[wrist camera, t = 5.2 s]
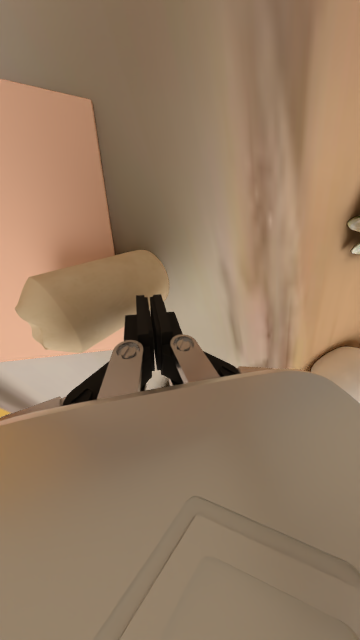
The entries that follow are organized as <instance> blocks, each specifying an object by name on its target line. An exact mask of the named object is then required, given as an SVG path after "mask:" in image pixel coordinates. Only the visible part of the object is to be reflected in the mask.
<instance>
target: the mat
mask: <svg viewBox="0 0 360 640" xmlns="http://www.w3.org/2000/svg"><path fill="white" fill-rule="evenodd" d="M114 255H115V251H114V244H113V237H112V231H111V224H110V217H109V210H108V204H107V197H106V190H105V184H104V177H103V170H102V164H101V157H100V150H99V144H98V137H97V130H96V124H95V117H94V110H93V104H92V101H91V99H86V98H82V97H78V96H73V95H69V94H64V93H60V92H56V91H51V90H47V89H43V88H38V87H34V86H30V85H25V84H21V83H17V82H12V81H8V80H4V79H0V362H5V361H14V360H23V359H33V358H42V357H51V356H60V355H69V354H79V353H73V352H64V351H56V350H46V349H45V348H44V347H43V346H42V345H41V344H40V343H39V342H37V341H36V340H35V339H34V338H33V336H32V328H31V326H30V325H29V324H28V322H26V321H25V320H23V319H22V318H20V317H19V315H18V314H17V313H16V311H15V307H16V306H17V304H18V301H19V298H20V295H21V292H22V289H23V287H24V285H25V283H26V281H27V279H28V278H29V277H31V276H35V275H39V274H43V273H47V272H51V271H55V270H59V269H63V268H67V267H71V266H75V265H79V264H83V263H87V262H91V261H95V260H98V259H102V258H106V257H110V256H114ZM123 341H124V327H123V328H121V329H119V330H118V331H116V332H115V333H113V334H111V335H110V336H108V337H107V338H105V339H103V340H102V341H100V342H99V343H97V344H95V345H94V346H92V347H91V348H89V349H87V350H86V351H84V352H83V353H88V352H97V351H106V350H114V348H115V346H117V345H118V344H119V343H121V342H123Z"/></svg>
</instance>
